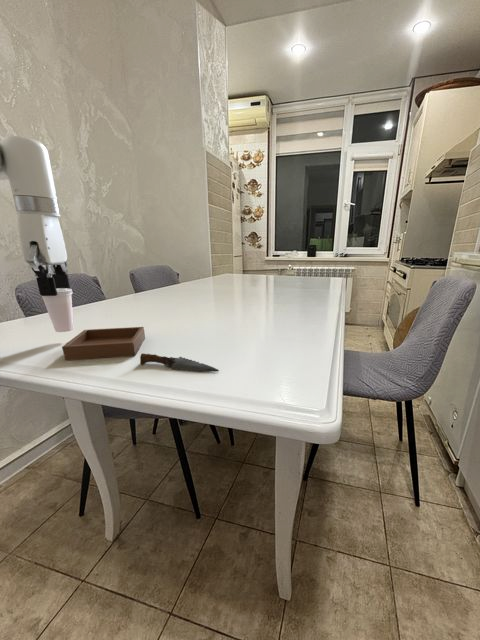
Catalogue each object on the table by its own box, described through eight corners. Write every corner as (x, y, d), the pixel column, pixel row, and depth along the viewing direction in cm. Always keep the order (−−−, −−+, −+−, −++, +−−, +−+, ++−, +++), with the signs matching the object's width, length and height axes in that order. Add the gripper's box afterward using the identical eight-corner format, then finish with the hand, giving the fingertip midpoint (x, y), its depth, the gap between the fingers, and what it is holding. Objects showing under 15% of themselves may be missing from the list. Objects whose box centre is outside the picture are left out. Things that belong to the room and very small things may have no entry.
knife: (134, 356, 57) (152, 342, 60) (137, 364, 58) (155, 350, 61) (203, 381, 50) (219, 363, 54) (205, 389, 52) (220, 372, 55)
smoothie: (51, 327, 72) (38, 269, 68) (81, 325, 75) (70, 269, 70) (45, 334, 67) (30, 272, 62) (77, 332, 69) (65, 271, 64)
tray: (65, 360, 60) (61, 346, 59) (86, 341, 71) (84, 329, 70) (135, 355, 62) (133, 342, 61) (145, 338, 74) (143, 326, 73)
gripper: (38, 211, 69) (55, 288, 75) (-10, 201, 53) (16, 300, 59) (73, 213, 70) (87, 288, 76) (37, 204, 54) (57, 299, 60)
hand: (56, 292), depth 68 cm, fingers closed on smoothie, 6 cm apart
